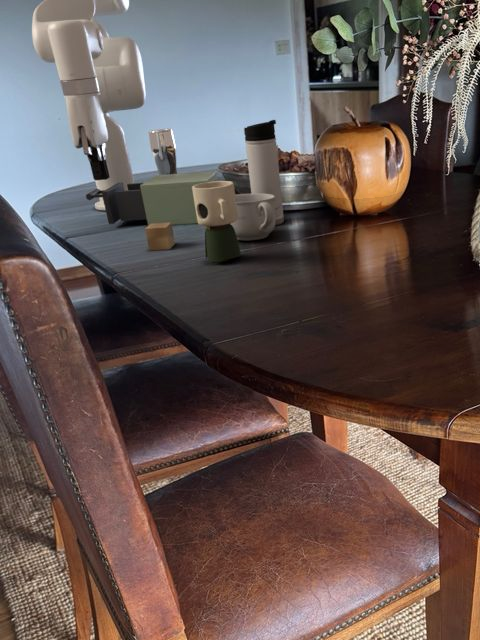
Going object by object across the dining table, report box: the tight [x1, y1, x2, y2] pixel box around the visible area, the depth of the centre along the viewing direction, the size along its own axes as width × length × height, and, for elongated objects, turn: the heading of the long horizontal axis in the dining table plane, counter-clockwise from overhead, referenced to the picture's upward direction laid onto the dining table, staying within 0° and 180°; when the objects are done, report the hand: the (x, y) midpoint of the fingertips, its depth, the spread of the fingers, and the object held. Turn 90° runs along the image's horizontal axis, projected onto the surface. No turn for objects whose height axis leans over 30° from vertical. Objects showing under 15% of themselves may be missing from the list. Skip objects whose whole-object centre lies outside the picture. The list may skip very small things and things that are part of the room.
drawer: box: [85, 182, 147, 225], centre depth 149 cm, size 18×12×7 cm, turn 87°
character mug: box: [192, 180, 242, 263], centre depth 113 cm, size 11×7×13 cm, turn 24°
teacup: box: [231, 193, 276, 241], centre depth 126 cm, size 14×11×8 cm
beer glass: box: [148, 128, 178, 175], centre depth 186 cm, size 7×7×15 cm
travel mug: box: [243, 119, 285, 226], centre depth 134 cm, size 6×7×20 cm
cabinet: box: [140, 170, 220, 227], centre depth 148 cm, size 15×13×9 cm
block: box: [144, 222, 176, 251], centre depth 127 cm, size 4×4×4 cm
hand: (102, 179), depth 147 cm, fingers closed
